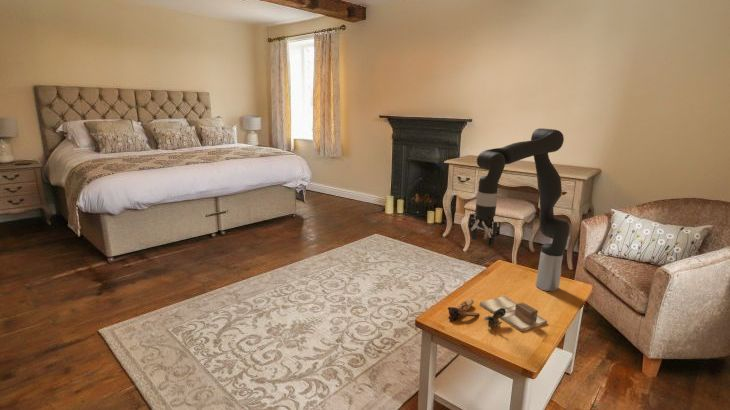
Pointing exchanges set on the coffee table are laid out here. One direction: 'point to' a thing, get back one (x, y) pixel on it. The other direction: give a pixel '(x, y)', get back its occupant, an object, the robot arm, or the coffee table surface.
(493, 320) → the eagle figurine
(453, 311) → the lashed bone hook
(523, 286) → the coffee table surface
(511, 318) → the birch board
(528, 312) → the block
